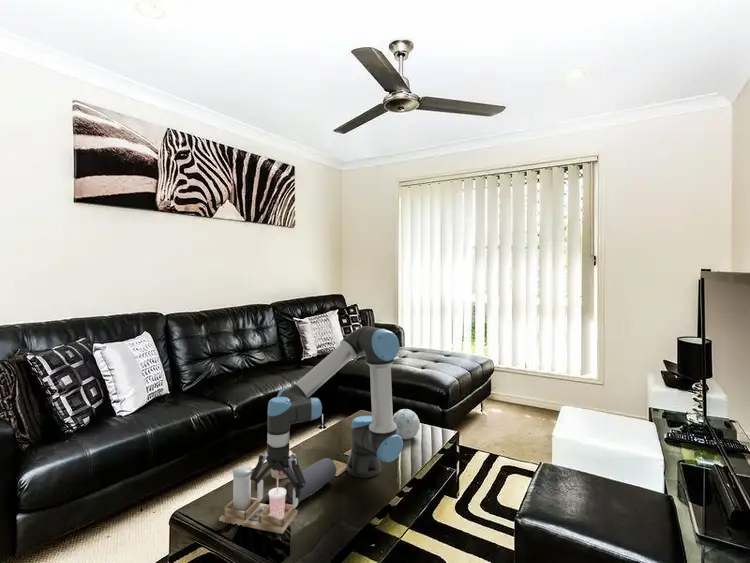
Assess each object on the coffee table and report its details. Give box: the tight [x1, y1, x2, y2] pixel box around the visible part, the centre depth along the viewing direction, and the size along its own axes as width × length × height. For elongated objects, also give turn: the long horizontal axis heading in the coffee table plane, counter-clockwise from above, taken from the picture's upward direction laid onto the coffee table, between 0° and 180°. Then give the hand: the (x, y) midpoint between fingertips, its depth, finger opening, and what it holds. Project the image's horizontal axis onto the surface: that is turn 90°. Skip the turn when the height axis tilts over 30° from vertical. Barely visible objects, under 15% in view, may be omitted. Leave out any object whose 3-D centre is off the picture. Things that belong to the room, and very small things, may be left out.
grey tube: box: [232, 465, 253, 511], centre depth 147 cm, size 7×7×15 cm
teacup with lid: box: [270, 449, 297, 480], centre depth 177 cm, size 12×9×12 cm
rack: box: [218, 497, 299, 535], centre depth 145 cm, size 24×12×4 cm, turn 76°
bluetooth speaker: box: [283, 457, 337, 505], centre depth 162 cm, size 23×9×10 cm, turn 149°
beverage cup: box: [268, 477, 286, 518], centre depth 143 cm, size 6×6×14 cm
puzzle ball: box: [393, 408, 421, 440], centre depth 217 cm, size 15×15×15 cm
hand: (277, 503), depth 143 cm, fingers open, 13 cm apart
